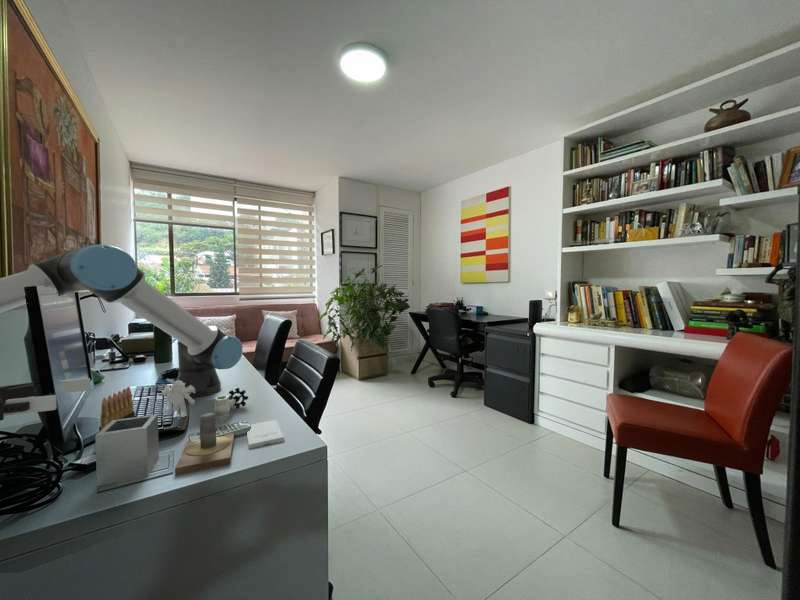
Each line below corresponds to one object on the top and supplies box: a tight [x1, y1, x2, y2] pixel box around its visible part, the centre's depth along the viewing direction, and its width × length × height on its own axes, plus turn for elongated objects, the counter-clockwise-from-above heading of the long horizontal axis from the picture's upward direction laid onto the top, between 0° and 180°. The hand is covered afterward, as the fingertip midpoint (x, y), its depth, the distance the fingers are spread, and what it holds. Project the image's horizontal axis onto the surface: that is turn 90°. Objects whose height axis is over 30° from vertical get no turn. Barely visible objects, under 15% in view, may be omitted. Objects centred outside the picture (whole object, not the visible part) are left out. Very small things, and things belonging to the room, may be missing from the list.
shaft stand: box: [174, 412, 235, 476], centre depth 75 cm, size 16×10×9 cm, turn 24°
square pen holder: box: [95, 413, 160, 487], centre depth 67 cm, size 8×8×10 cm
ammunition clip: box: [98, 386, 136, 433], centre depth 83 cm, size 11×2×12 cm, turn 10°
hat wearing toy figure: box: [161, 378, 195, 413], centre depth 97 cm, size 9×4×12 cm, turn 97°
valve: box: [213, 387, 249, 423], centre depth 98 cm, size 7×7×12 cm
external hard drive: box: [246, 419, 285, 449], centre depth 84 cm, size 2×8×12 cm
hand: (74, 392), depth 67 cm, fingers open, 13 cm apart
